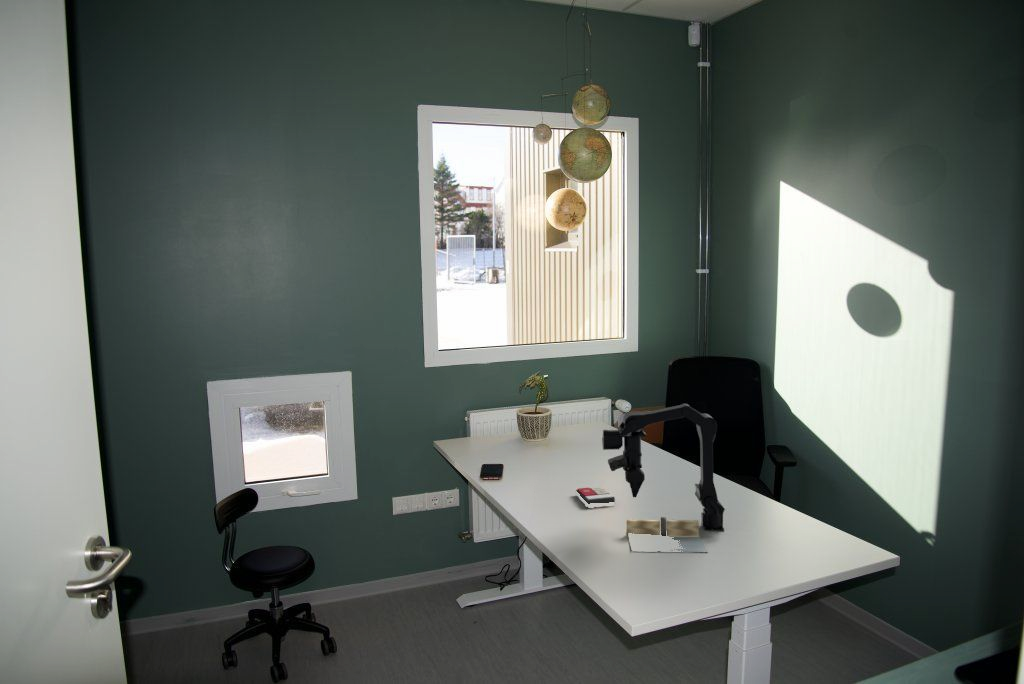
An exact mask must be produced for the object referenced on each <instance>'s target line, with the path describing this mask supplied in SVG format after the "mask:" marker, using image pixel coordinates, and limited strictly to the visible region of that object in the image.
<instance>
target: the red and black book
mask: <svg viewBox="0 0 1024 684" xmlns="http://www.w3.org/2000/svg"><path fill="white" fill-rule="evenodd" d="M576 491H577V492H578V493H579V494H580V496H581V497H582V498H583V499H584V500H585V501H586V502H587V503H588V504H590V503H609V502H616V499H615V496H613V495H612V494H611V493H610V492H609V491H608V490H606V489H605V488H603V487H602V486H601V485H600V486H591V487H581V488H580V487H579V488H577V489H576V490H575V492H576Z"/></svg>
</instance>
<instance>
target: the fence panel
mask: <svg viewBox="0 0 1024 684" xmlns="http://www.w3.org/2000/svg"><path fill="white" fill-rule="evenodd" d="M660 531H661V519H660V520H659V519H626V534H627V533H632V534H633V533H634V534H651V535H660Z"/></svg>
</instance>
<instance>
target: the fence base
mask: <svg viewBox="0 0 1024 684" xmlns="http://www.w3.org/2000/svg"><path fill="white" fill-rule="evenodd" d="M699 523H700V522H699V520H697V519H696V520H695V519H689V520H687V519H684V520H683V519H667V516H666V517H665V516H660V531H661V535H662V536H666V531H667V536H699V535H700V534H699V531H700V529H699V527H700V526H699Z"/></svg>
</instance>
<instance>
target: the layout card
mask: <svg viewBox="0 0 1024 684" xmlns="http://www.w3.org/2000/svg"><path fill="white" fill-rule="evenodd" d="M669 537H674V538H672V539H674V540H678V541H679V540H680V541H679V542H680V543H679V542H678V543H679V545H680V544H681V545H680V546H682V547H683V549H676V550H678V551H680V550H681V552H682V551H683V552H703V553H702V554H708V553H707V552H708V550H707V548H706V546H705V543H704V541H703V540H702V538H701V535H700V534H699V536H669ZM669 544H670V543H669ZM680 546H679V547H680ZM682 547H681V548H682ZM684 548H685V549H684ZM670 550H671V549H670ZM674 550H675V549H674ZM671 551H673V550H671ZM705 552H706V553H705Z"/></svg>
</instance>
